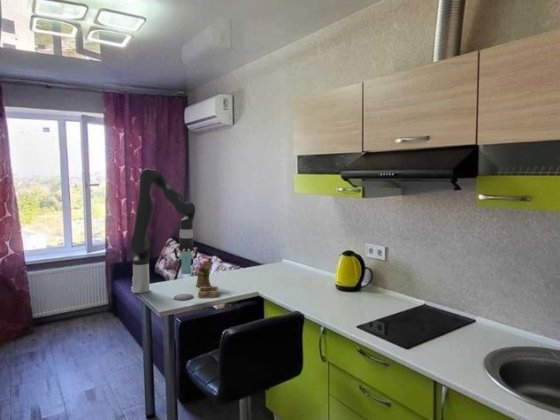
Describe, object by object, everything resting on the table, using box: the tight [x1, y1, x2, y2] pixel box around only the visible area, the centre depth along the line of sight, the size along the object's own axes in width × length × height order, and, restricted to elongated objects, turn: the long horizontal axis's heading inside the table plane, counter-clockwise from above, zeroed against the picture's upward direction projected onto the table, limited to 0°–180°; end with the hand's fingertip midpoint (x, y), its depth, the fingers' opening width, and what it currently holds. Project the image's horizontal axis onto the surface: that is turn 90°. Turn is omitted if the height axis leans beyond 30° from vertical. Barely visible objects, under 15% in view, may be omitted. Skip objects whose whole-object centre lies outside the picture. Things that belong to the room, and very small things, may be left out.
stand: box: [197, 286, 219, 298], centre depth 233 cm, size 11×11×3 cm
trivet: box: [173, 293, 194, 302], centre depth 226 cm, size 11×11×1 cm
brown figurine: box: [195, 260, 214, 289], centre depth 248 cm, size 9×14×18 cm, turn 43°
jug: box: [180, 251, 192, 275], centre depth 224 cm, size 8×6×13 cm
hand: (186, 265), depth 225 cm, fingers closed on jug, 5 cm apart
